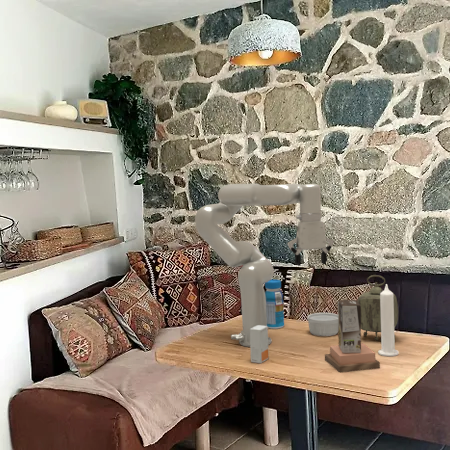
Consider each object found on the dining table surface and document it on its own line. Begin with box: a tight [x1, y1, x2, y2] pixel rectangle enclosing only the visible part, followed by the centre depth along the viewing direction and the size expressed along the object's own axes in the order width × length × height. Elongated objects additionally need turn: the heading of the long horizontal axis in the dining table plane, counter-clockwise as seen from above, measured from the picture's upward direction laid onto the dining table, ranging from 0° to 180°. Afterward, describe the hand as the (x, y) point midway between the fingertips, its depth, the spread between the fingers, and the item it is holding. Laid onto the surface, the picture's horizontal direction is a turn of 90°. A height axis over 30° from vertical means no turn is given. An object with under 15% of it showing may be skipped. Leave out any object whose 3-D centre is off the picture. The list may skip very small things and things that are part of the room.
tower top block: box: [329, 342, 377, 365], centre depth 202 cm, size 12×12×3 cm
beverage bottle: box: [264, 279, 285, 330], centre depth 256 cm, size 8×8×20 cm
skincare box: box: [249, 325, 270, 364], centre depth 210 cm, size 6×4×12 cm
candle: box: [377, 283, 400, 357], centre depth 211 cm, size 7×7×25 cm
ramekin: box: [307, 312, 339, 337], centre depth 243 cm, size 13×13×7 cm
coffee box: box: [337, 299, 362, 353], centre depth 202 cm, size 9×6×16 cm
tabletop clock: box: [356, 274, 399, 342], centre depth 229 cm, size 14×9×25 cm, turn 63°
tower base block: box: [324, 353, 381, 373], centre depth 202 cm, size 14×14×3 cm
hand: (311, 264), depth 219 cm, fingers open, 9 cm apart
